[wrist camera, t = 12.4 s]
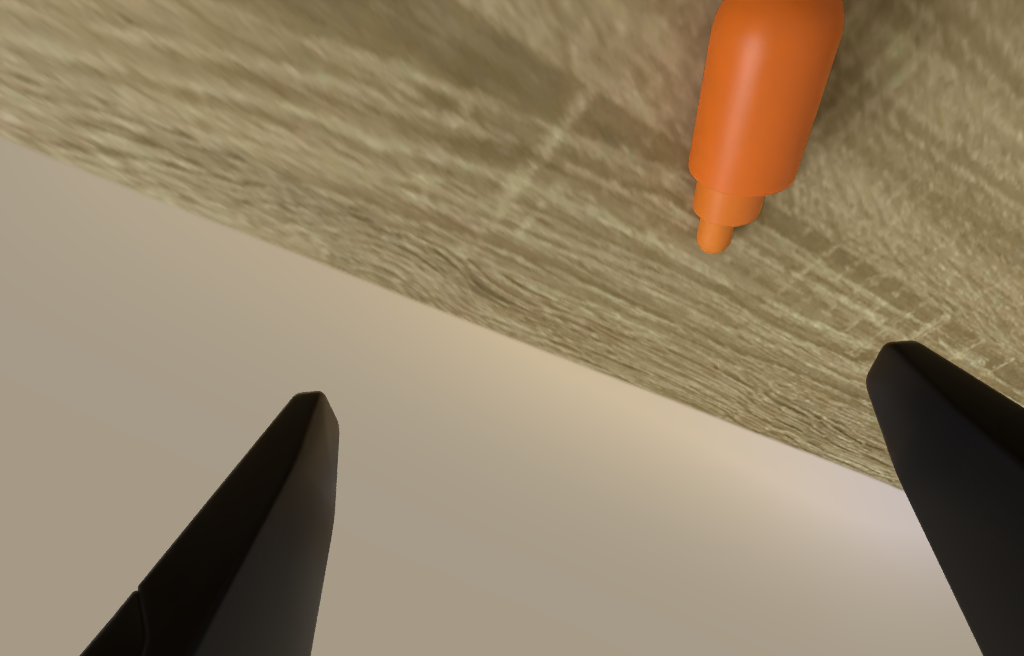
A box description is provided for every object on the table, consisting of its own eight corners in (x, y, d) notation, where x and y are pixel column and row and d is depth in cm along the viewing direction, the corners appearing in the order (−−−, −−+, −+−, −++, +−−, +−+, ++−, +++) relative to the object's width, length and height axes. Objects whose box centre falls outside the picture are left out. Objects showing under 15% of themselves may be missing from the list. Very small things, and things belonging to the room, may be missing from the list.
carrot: (750, 239, 22) (774, 296, 20) (665, 241, 22) (679, 298, 20) (846, -95, 15) (902, -64, 12) (716, -87, 15) (748, -55, 13)
